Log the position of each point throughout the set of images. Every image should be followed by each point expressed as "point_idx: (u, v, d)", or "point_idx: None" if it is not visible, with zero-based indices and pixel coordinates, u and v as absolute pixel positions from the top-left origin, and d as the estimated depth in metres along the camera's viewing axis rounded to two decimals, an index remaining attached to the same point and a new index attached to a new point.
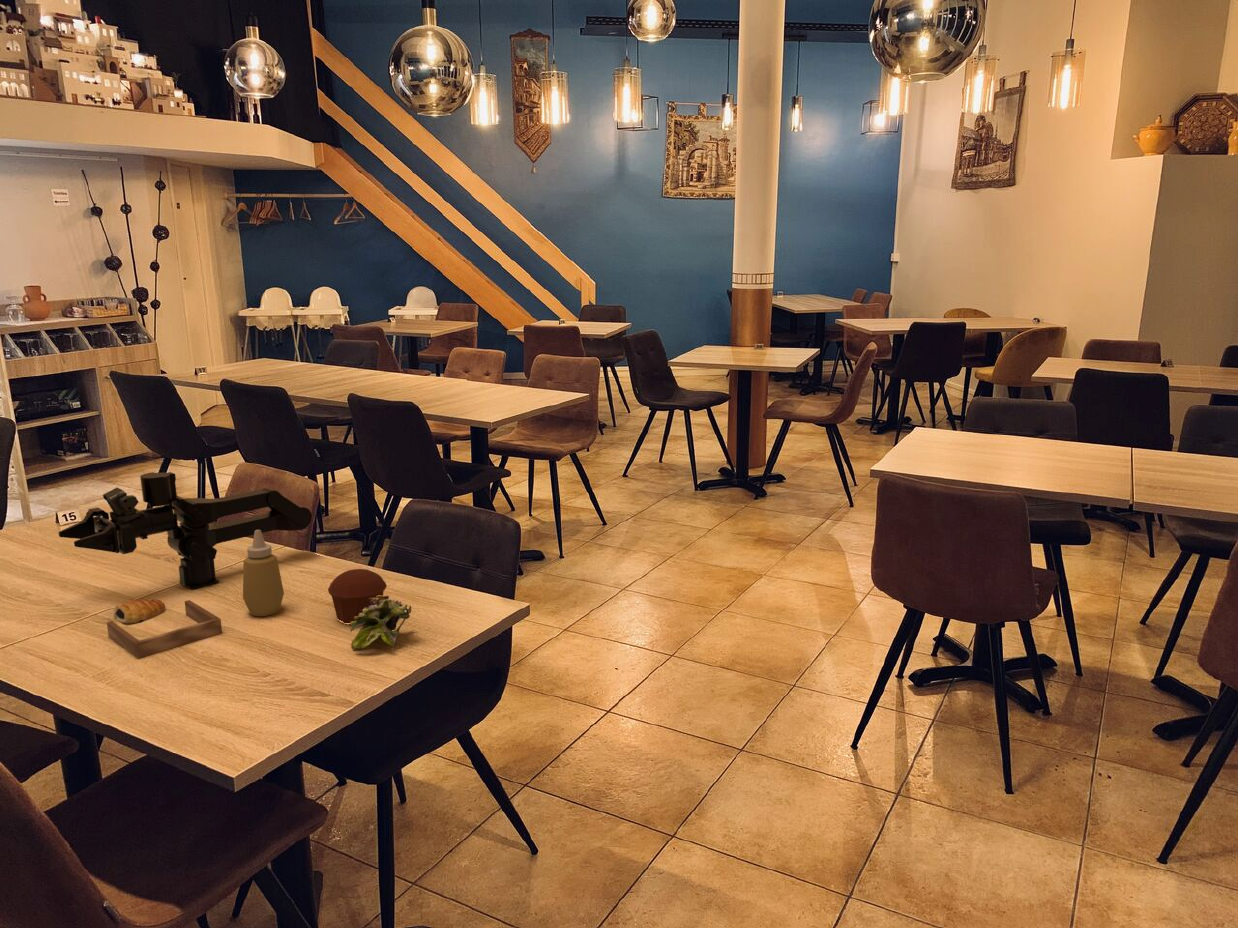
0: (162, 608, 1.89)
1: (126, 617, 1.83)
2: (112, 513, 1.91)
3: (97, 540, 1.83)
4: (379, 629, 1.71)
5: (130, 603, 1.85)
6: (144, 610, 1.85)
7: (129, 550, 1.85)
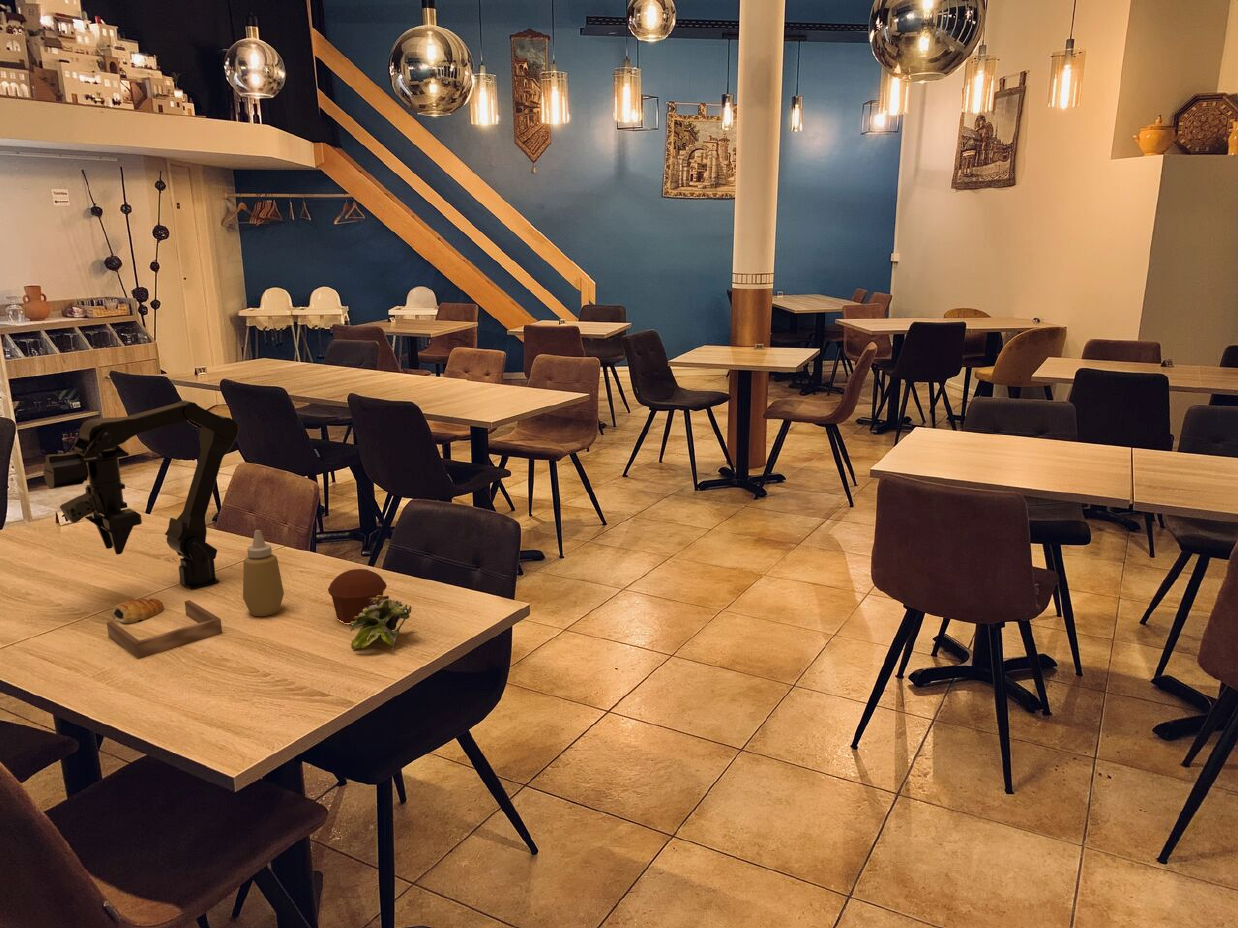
0: (160, 608, 1.89)
1: (125, 617, 1.83)
2: None
3: (118, 537, 1.87)
4: (379, 629, 1.71)
5: (129, 603, 1.86)
6: (143, 610, 1.85)
7: (138, 519, 1.84)
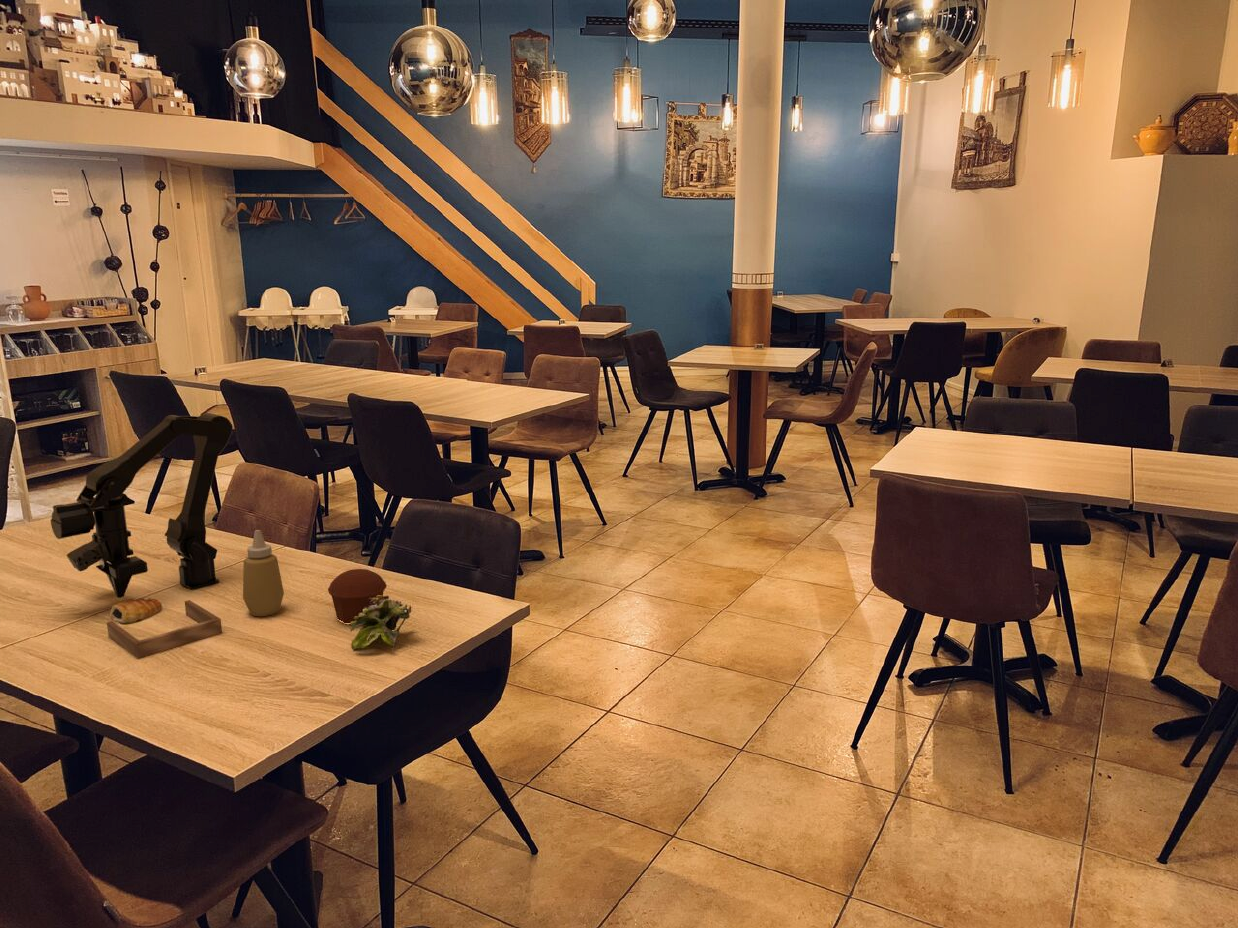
0: (159, 607, 1.89)
1: (124, 617, 1.83)
2: None
3: (120, 581, 1.91)
4: (379, 629, 1.71)
5: (127, 603, 1.86)
6: (142, 610, 1.85)
7: (144, 567, 1.87)
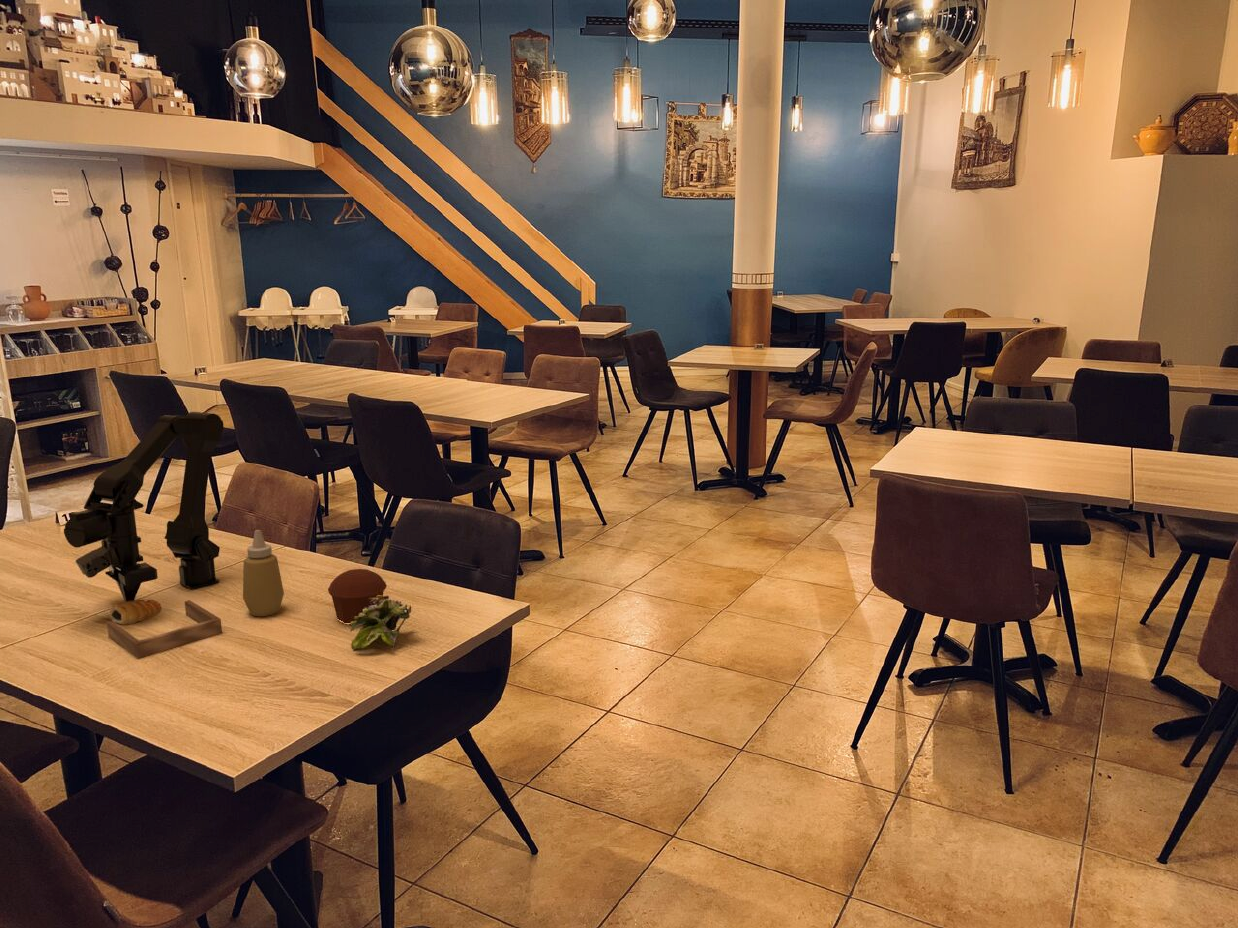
0: (158, 609, 1.89)
1: (123, 618, 1.82)
2: None
3: (129, 588, 1.87)
4: (379, 629, 1.71)
5: (126, 604, 1.85)
6: (141, 611, 1.85)
7: (154, 574, 1.83)
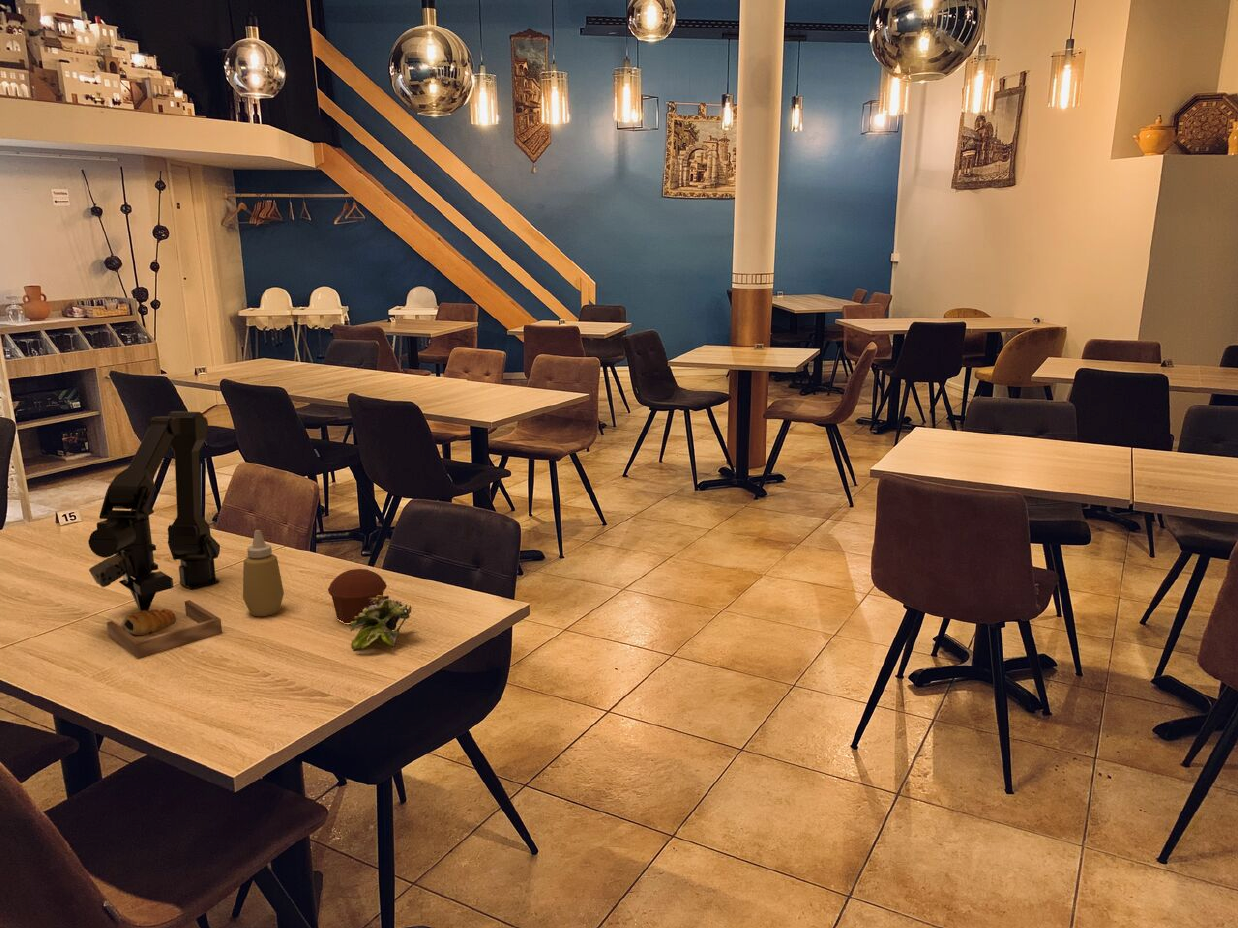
0: (172, 619, 1.83)
1: (135, 628, 1.77)
2: None
3: (144, 597, 1.83)
4: (379, 629, 1.71)
5: (139, 614, 1.80)
6: (154, 621, 1.80)
7: (170, 583, 1.78)
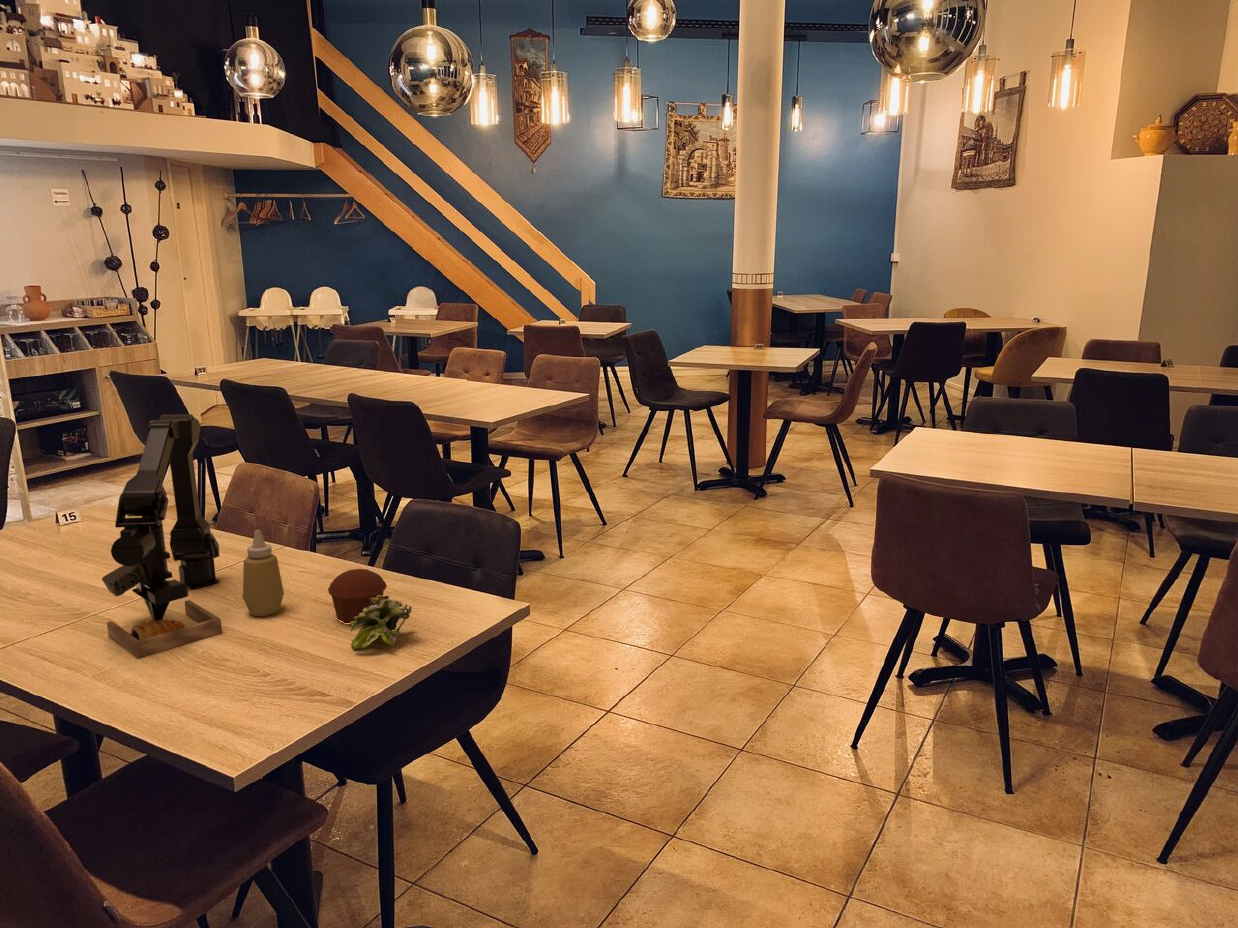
0: None
1: (140, 639, 1.72)
2: None
3: (158, 606, 1.78)
4: (379, 629, 1.71)
5: (147, 624, 1.75)
6: (160, 633, 1.74)
7: (185, 591, 1.74)
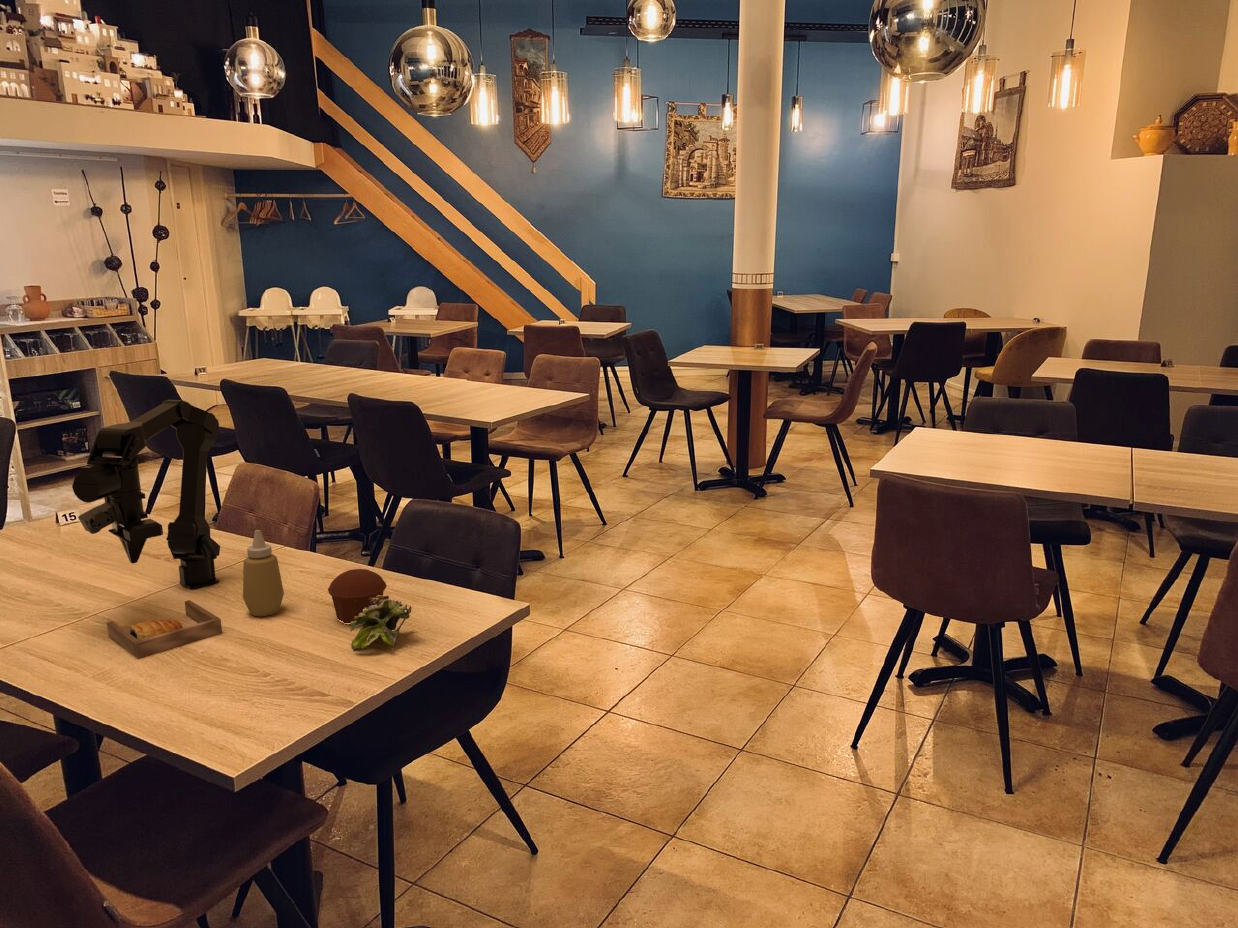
0: None
1: (138, 639, 1.72)
2: None
3: (133, 546, 1.82)
4: (379, 629, 1.71)
5: (145, 624, 1.75)
6: (158, 633, 1.74)
7: (160, 530, 1.78)
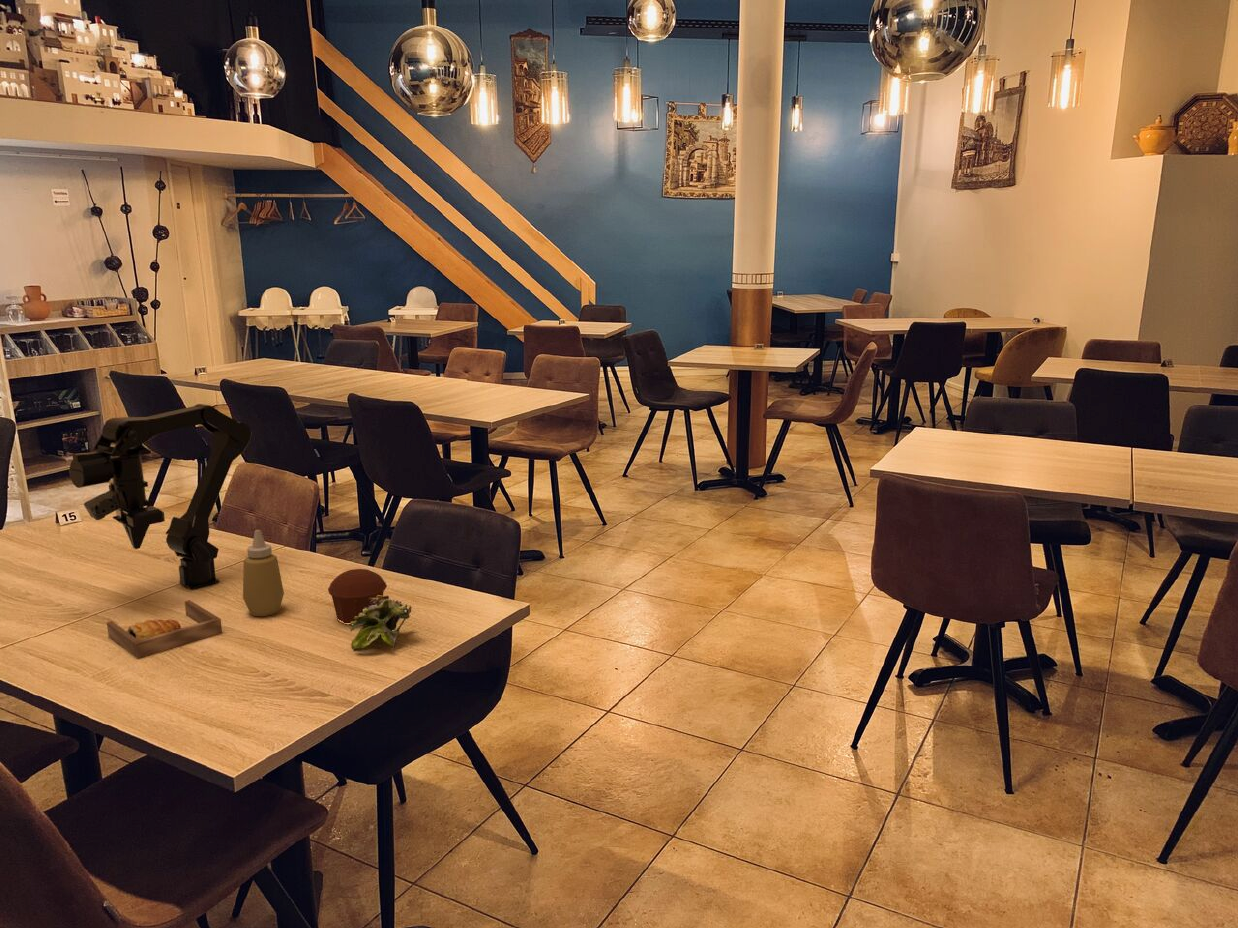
0: None
1: None
2: None
3: (136, 532, 1.91)
4: (379, 629, 1.71)
5: (143, 624, 1.75)
6: (157, 632, 1.75)
7: (161, 516, 1.86)
